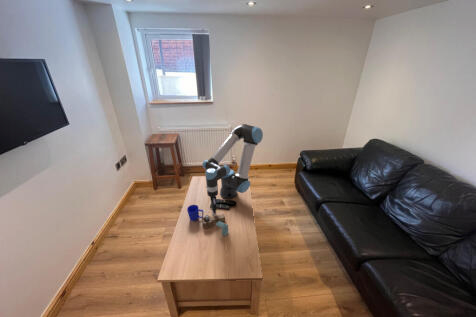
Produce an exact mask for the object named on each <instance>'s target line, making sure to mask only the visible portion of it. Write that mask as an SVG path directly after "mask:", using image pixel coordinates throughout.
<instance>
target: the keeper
mask: <svg viewBox="0 0 476 317" xmlns="http://www.w3.org/2000/svg"><path fill="white" fill-rule="evenodd" d="M215 226H217V227H218V228H220V229H221V232H222V233H221V234H222V235H223V236H224V237H226V236H228V234H229V224H226V222H224V223H223V222H221V221H218V222H217V223H216V225H215Z"/></svg>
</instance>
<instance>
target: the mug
mask: <svg viewBox="0 0 476 317" xmlns="http://www.w3.org/2000/svg"><path fill="white" fill-rule="evenodd" d="M186 210H187V214H188V217H189V218H188V219H189V220H190V221H192V222H195V221H198V219H202V217H204V210H203V209H199V206H198V205H196V204H191V205H189V206H188V207H187V209H186ZM200 212H201V214H202V215H201V216H200V214H199V213H200Z"/></svg>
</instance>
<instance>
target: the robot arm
mask: <svg viewBox="0 0 476 317" xmlns="http://www.w3.org/2000/svg"><path fill="white" fill-rule="evenodd" d="M263 137H264V133H263V130H262V129H261V128H260V127H258V126H253V125H250V124H247V123H244V124H243V123H242V124H239V125H237V126H236V127H234V128H233V129H232V130H231V131H230V132H229V135H228V137H227V138H226V139H225V140H224V142H223V143H221V145H220V146H219V148H218V149H217V150H216V151H214V154H212V156H211V157H210V158H209V159H205V160H203V162H202V164H201V165H202V168H203V169H204V170H205V181H206V182H205V183H206V186H205V188H206V191H207V192H206V193H207V196H208V197H210V204H211V213H212V217H213V216H217V196H218V194H219V195H220V197H221V198H223V199H225V200H231V199H234V198H236V197H237V195H238V193H241V194H244V193H245V192H247V191H248V190H249V188H250V187H251V181H250V180H249V179H250V176H249V172H250V169H251V168H250V167H251V163H252V160H253V156H254V151H255V148H256V147H257V146H258V144H260V143H261V142H262V140H263ZM242 139H243V141H242V142H243V149H242V152H241V156H240V161H239V165H238V169H237V172H236V173H235V170H233V169H231V168H230V166H229V165H228V164H223V165H220V163H221V161H223V159H224V158H225V157H226V156H227V154H228V153H229V152H230V151H231V149H232V148H233V147H234V146H235V144H236V143H237V142H239V141H240V140H242ZM218 181H220V182H221V186H220V187H221V188H220V191H219V189H218V188H219V185H218Z"/></svg>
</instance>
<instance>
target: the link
mask: <svg viewBox="0 0 476 317" xmlns="http://www.w3.org/2000/svg"><path fill="white" fill-rule="evenodd" d="M201 217H202V216H201ZM208 219H209V221H207V222H206V217H205V216H203V217H202V218H201V222H202V227H203V230H204V229H210V228H213V226H214V225H215V226H217V225H216V223H217V222H218V221H221V222H223V223H226V216H225V213H222V214H218V215H217V214H216V215H215V216H213V215H212V216H211V215H208Z"/></svg>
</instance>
